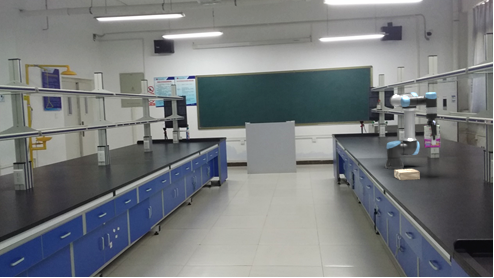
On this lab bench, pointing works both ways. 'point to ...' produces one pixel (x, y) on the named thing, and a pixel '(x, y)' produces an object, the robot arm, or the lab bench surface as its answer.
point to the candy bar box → (429, 138)
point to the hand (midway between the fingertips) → (432, 144)
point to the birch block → (406, 174)
